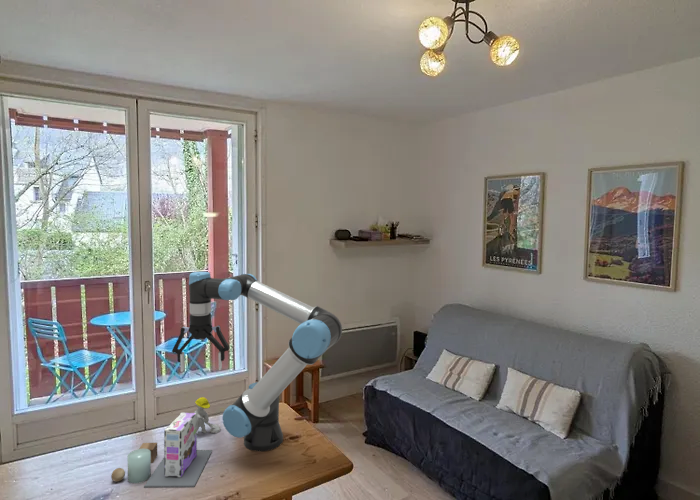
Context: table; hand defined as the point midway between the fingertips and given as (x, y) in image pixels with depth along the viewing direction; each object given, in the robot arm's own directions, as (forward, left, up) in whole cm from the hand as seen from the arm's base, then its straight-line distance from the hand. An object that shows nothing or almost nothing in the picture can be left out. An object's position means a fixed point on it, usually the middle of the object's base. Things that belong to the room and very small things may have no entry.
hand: (201, 370), depth 163 cm
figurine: (+2, -13, -31) cm, 33 cm away
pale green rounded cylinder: (+16, +17, -31) cm, 39 cm away
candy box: (+4, +12, -30) cm, 33 cm away
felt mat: (+4, +12, -31) cm, 33 cm away
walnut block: (+15, +7, -28) cm, 33 cm away
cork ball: (+22, +19, -31) cm, 42 cm away
